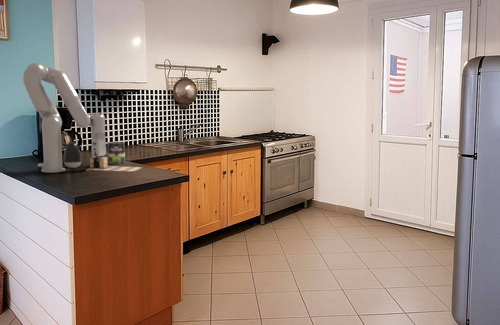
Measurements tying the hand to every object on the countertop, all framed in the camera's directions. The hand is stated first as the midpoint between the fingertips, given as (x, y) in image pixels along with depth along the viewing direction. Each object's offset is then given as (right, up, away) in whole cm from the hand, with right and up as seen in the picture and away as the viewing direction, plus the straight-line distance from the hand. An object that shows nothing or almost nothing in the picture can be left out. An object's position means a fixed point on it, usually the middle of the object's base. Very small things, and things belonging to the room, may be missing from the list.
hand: (98, 167), depth 260 cm
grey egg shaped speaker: (-18, 0, +8) cm, 20 cm away
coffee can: (+5, +1, +19) cm, 19 cm away
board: (+10, -2, -1) cm, 10 cm away
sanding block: (0, 0, 0) cm, 0 cm away
